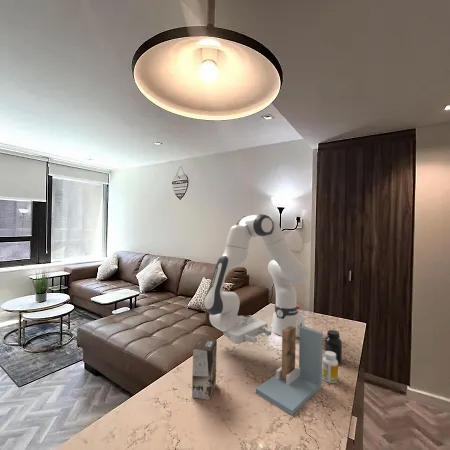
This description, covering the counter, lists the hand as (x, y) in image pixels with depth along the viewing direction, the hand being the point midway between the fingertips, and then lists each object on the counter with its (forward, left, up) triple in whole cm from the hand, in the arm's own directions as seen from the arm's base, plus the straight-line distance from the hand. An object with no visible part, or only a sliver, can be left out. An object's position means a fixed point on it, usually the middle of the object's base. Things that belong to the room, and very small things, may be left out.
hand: (263, 336), depth 101 cm
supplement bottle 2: (-13, +22, -13) cm, 28 cm away
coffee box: (+26, -5, -13) cm, 29 cm away
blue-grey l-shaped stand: (+4, +15, -12) cm, 20 cm away
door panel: (0, +12, -11) cm, 16 cm away
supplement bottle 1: (-28, +17, -13) cm, 35 cm away
